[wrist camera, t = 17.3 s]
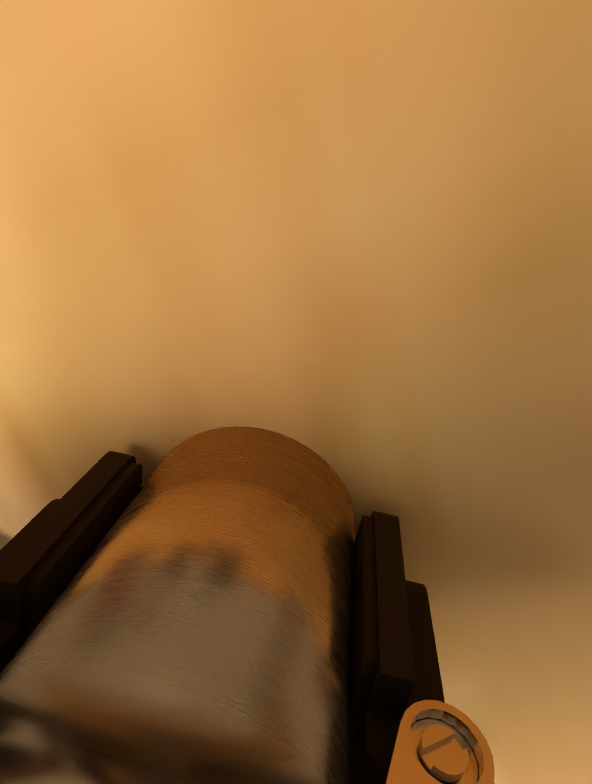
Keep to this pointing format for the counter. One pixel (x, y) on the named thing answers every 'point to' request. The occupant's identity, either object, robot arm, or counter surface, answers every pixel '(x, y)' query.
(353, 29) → the counter surface
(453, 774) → the robot arm
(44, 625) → the cylinder
